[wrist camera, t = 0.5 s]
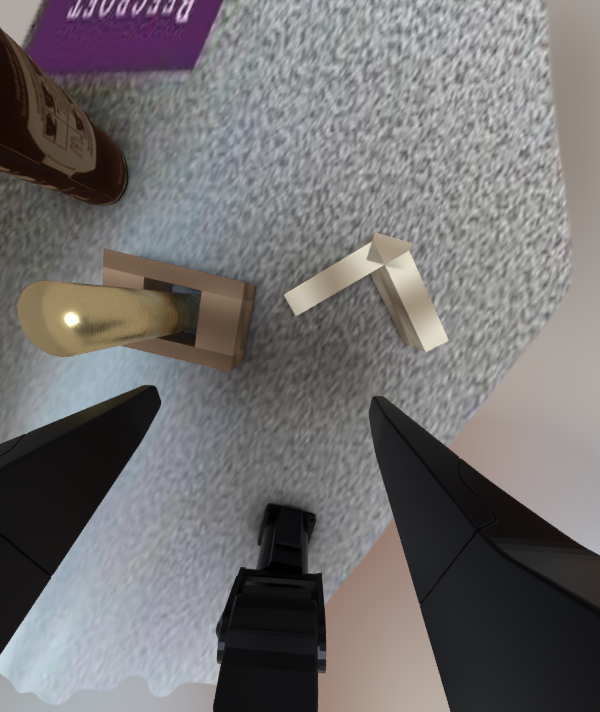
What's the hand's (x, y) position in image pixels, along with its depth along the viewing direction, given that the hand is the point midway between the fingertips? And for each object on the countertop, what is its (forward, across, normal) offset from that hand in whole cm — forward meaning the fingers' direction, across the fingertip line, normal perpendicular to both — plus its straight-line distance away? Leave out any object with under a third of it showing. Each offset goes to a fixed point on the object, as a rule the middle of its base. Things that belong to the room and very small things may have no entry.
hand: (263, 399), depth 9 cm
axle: (+15, +10, +1) cm, 18 cm away
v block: (+16, -7, -1) cm, 17 cm away
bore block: (+15, +10, +1) cm, 18 cm away
